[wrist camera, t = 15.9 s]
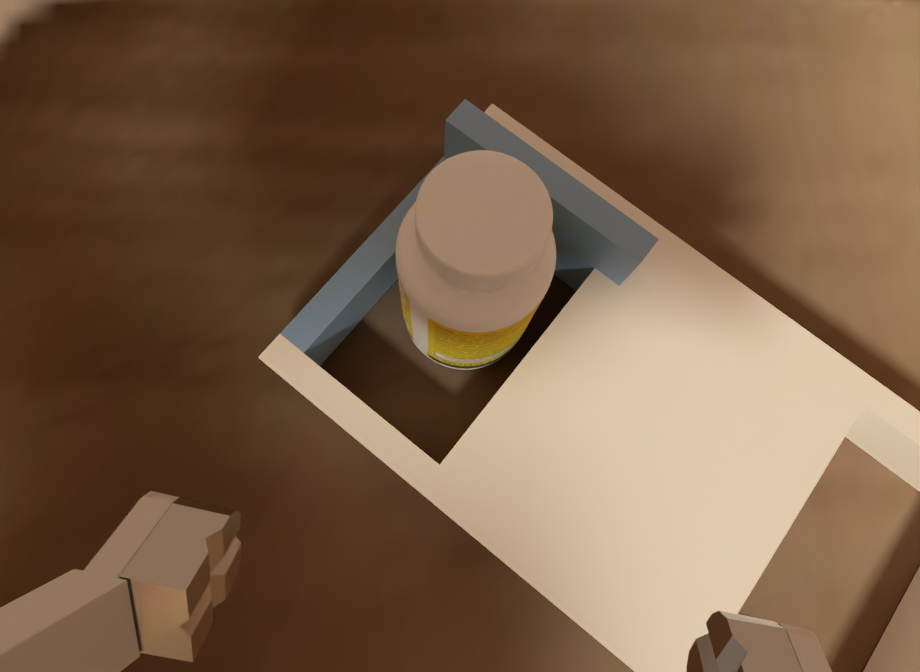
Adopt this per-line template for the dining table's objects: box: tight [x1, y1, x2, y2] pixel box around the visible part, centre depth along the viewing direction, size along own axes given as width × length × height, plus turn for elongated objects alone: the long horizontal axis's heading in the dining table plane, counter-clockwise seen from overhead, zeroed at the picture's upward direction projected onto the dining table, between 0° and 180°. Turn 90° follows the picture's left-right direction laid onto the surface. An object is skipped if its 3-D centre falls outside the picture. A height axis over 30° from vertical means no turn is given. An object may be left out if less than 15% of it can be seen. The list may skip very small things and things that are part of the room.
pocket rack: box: [258, 99, 920, 672], centre depth 23 cm, size 14×27×6 cm, turn 51°
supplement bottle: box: [396, 150, 556, 370], centre depth 22 cm, size 5×5×10 cm
